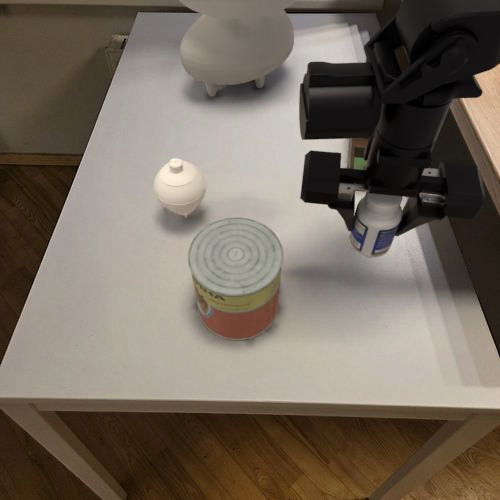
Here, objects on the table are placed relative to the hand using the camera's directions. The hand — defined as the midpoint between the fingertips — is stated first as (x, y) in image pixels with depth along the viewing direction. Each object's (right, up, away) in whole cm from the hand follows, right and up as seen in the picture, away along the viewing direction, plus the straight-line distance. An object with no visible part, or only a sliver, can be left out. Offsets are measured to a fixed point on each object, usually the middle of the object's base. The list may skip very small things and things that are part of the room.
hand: (373, 230), depth 56 cm
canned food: (-17, -10, +8) cm, 21 cm away
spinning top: (-25, +3, +17) cm, 31 cm away
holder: (+6, +14, +24) cm, 28 cm away
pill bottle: (0, -1, +2) cm, 2 cm away
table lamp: (-18, +31, +37) cm, 52 cm away
